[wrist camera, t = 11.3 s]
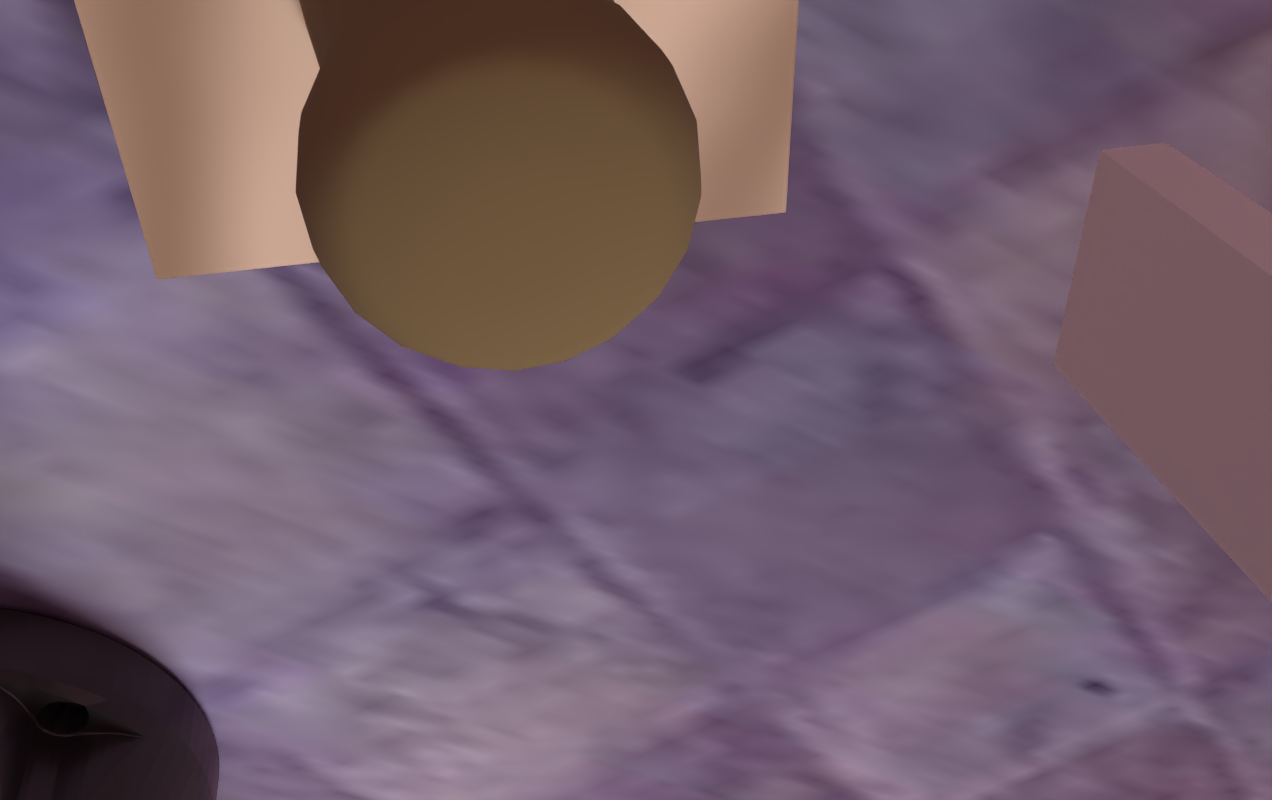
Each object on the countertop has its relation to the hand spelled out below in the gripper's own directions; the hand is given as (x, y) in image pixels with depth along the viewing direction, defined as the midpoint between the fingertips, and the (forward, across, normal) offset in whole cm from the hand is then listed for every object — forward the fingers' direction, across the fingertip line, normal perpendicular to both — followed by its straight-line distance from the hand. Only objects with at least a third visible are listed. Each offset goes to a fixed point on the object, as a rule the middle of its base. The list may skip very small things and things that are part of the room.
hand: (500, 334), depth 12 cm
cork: (+13, +1, 0) cm, 13 cm away
